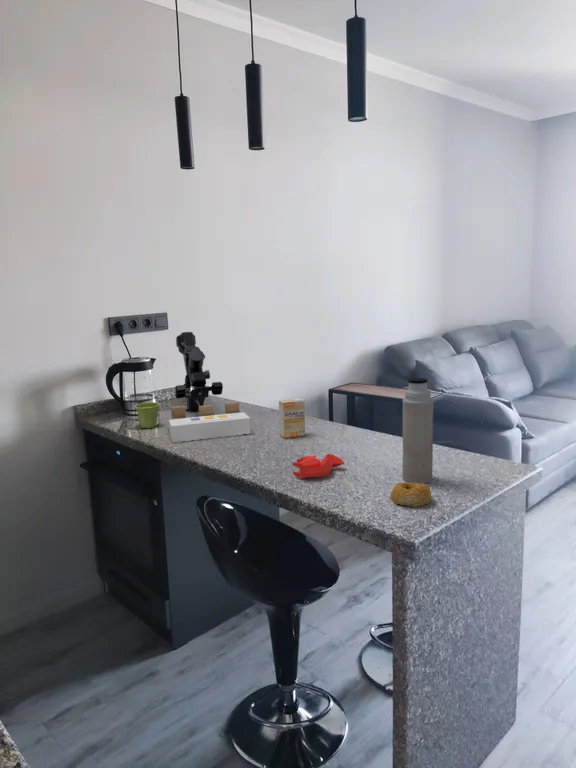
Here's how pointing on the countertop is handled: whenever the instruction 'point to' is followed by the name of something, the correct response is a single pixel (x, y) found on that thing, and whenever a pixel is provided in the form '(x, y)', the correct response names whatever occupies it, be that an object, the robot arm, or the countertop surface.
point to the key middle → (205, 410)
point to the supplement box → (292, 418)
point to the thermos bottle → (417, 432)
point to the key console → (209, 427)
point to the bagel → (411, 494)
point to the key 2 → (232, 408)
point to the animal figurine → (316, 466)
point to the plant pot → (147, 414)
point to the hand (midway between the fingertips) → (201, 407)
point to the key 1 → (178, 412)
